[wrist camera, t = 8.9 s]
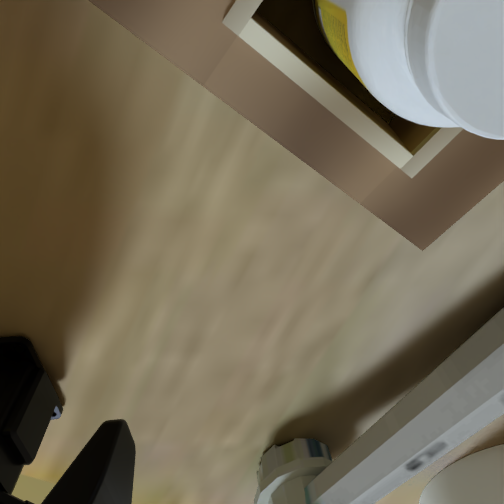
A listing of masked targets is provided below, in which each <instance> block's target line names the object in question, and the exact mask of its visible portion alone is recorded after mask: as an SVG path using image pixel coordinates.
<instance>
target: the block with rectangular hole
mask: <svg viewBox="0 0 504 504" xmlns="http://www.w3.org/2000/svg"><path fill="white" fill-rule="evenodd" d="M89 1H90V2H91V3H93V4H94V5H95V6H97V7H98V8H99V9H101V10H102V11H103V12H105V13H106V14H107V15H109V16H110V17H111V18H113V19H114V20H115V21H117V22H118V23H119V24H121V25H122V26H123V27H125V28H126V29H127V30H129V31H130V32H131V33H133V34H134V35H135V36H137V37H138V38H139V39H141V40H142V41H143V42H145V43H146V44H147V45H149V46H150V47H151V48H153V49H154V50H155V51H157V52H158V53H159V54H161V55H162V56H163V57H165V58H166V59H167V60H169V61H170V62H171V63H173V64H174V65H175V66H177V67H178V68H179V69H181V70H182V71H183V72H185V73H186V74H187V75H189V76H190V77H191V78H193V79H194V80H195V81H197V82H198V83H199V84H201V85H202V86H203V87H205V88H206V89H207V90H209V91H210V92H211V93H213V94H214V95H215V96H217V97H218V98H219V99H221V100H222V101H223V102H225V103H226V104H227V105H229V106H230V107H231V108H233V109H234V110H235V111H237V112H238V113H239V114H241V115H242V116H243V117H245V118H246V119H247V120H249V121H250V122H251V123H253V124H254V125H255V126H257V127H258V128H259V129H261V130H262V131H263V132H265V133H266V134H267V135H269V136H270V137H271V138H273V139H274V140H275V141H277V142H278V143H279V144H281V145H282V146H283V147H285V148H286V149H287V150H289V151H290V152H291V153H293V154H294V155H295V156H297V157H298V158H299V159H301V160H302V161H303V162H305V163H306V164H307V165H309V166H310V167H311V168H313V169H314V170H315V171H317V172H318V173H319V174H321V175H322V176H323V177H325V178H326V179H327V180H329V181H330V182H331V183H333V184H334V185H335V186H337V187H338V188H340V189H341V190H342V191H344V192H345V193H346V194H348V195H349V196H350V197H352V198H353V199H354V200H356V201H357V202H358V203H360V204H361V205H362V206H364V207H365V208H366V209H368V210H369V211H370V212H372V213H373V214H374V215H376V216H377V217H378V218H380V219H381V220H382V221H384V222H385V223H386V224H388V225H389V226H390V227H392V228H393V229H394V230H396V231H397V232H398V233H400V234H401V235H402V236H404V237H405V238H406V239H408V240H409V241H410V242H412V243H413V244H414V245H416V246H417V247H418V248H420V249H421V250H422V251H423V250H424V249H425V248H426V247H428V246H429V245H430V244H431V243H432V242H433V241H435V240H436V239H437V238H438V237H439V236H440V235H441V234H443V233H444V232H445V231H446V230H447V229H448V228H450V227H451V226H452V225H453V224H454V223H455V222H456V221H458V220H459V219H460V218H461V217H462V216H463V215H465V214H466V213H467V212H468V211H469V210H470V209H471V208H473V207H474V206H475V205H476V204H477V203H478V202H480V201H481V200H482V199H483V198H484V197H485V196H487V195H488V194H489V193H490V192H491V191H492V190H493V189H495V188H496V187H497V186H498V185H499V184H500V183H502V182H503V181H504V140H496V139H490V138H485V137H482V136H479V135H476V134H474V133H471V132H469V131H467V130H465V129H463V128H462V127H453V128H446V127H431V126H426V125H421V124H417V123H414V122H411V121H409V120H407V119H404V118H402V117H400V116H398V115H397V116H396V117H395V118H394V119H393V120H392V121H391V122H390V123H389V124H387V123H386V122H385V121H384V120H383V119H382V118H380V117H379V116H378V115H377V114H376V113H375V112H373V111H372V110H371V109H370V108H369V107H368V106H366V105H365V104H364V103H363V102H362V101H361V100H359V99H358V98H357V97H356V96H355V95H354V94H353V93H351V92H350V91H349V90H348V89H347V88H346V87H344V86H343V85H342V84H341V83H340V82H339V81H337V80H336V79H335V78H334V77H333V76H332V75H330V74H329V73H328V72H327V71H326V70H325V69H323V68H322V67H321V66H320V65H319V64H318V63H316V62H315V61H314V60H313V59H312V58H311V57H309V56H308V55H307V54H306V53H305V52H304V51H302V50H301V49H300V48H299V47H298V46H297V45H295V44H294V43H293V42H292V41H291V40H290V39H288V38H287V37H286V36H285V35H284V34H283V33H281V32H280V31H279V30H278V29H277V28H276V27H274V26H273V25H272V24H271V23H270V22H269V21H268V20H266V19H265V18H264V17H263V16H262V15H261V14H259V13H258V12H257V11H256V10H257V8H258V7H259V5H260V4H261V2H262V1H263V0H89Z"/></svg>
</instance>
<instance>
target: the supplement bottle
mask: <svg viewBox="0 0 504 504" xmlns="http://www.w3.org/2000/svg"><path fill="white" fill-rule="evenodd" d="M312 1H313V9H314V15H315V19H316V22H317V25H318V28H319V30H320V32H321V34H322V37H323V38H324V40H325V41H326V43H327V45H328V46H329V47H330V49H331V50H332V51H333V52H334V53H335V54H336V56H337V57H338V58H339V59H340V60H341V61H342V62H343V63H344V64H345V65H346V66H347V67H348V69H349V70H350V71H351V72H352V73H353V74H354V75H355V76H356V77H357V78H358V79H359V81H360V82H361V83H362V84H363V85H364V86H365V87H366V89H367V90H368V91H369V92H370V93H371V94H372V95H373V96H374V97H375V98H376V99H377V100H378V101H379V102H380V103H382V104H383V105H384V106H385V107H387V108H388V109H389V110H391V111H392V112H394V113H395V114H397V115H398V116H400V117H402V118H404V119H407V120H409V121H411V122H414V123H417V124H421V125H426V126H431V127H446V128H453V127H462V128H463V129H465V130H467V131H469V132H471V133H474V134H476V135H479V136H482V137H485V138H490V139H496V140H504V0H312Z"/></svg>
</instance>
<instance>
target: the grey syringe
mask: <svg viewBox="0 0 504 504" xmlns="http://www.w3.org/2000/svg"><path fill="white" fill-rule="evenodd" d="M502 414H504V307H503V308H502V309H501V310H500V311H499V312H497V313H496V314H495V315H494V316H493V317H492V318H491V319H490V320H489V321H488V322H486V323H485V324H484V325H483V326H482V327H481V328H480V329H479V330H478V331H476V332H475V333H474V334H473V335H472V336H471V337H470V338H469V339H468V340H467V341H465V342H464V343H463V344H462V345H461V346H460V347H459V348H458V349H457V350H455V351H454V352H453V353H452V354H451V355H450V356H449V357H448V358H447V359H445V360H444V361H443V362H442V363H441V364H440V365H439V366H438V367H437V368H436V369H434V370H433V371H432V372H431V373H430V374H429V375H428V376H427V377H426V378H424V379H423V380H422V381H421V382H420V383H419V384H418V385H417V386H416V387H415V388H413V389H412V390H411V391H410V392H409V393H408V394H407V395H406V396H405V397H403V398H402V399H401V400H400V401H399V402H398V403H397V404H396V405H395V406H394V407H392V408H391V409H390V410H389V411H388V412H387V413H386V414H385V415H384V416H382V417H381V418H380V419H379V420H378V421H377V422H376V423H375V424H374V425H373V426H371V427H370V428H369V429H368V430H367V431H366V432H365V433H364V434H363V435H361V436H360V437H359V438H358V439H357V440H356V441H355V442H354V443H353V444H351V445H350V446H349V447H348V448H347V449H346V450H345V451H344V452H343V453H342V454H340V455H339V456H338V457H337V458H336V459H335V460H334V461H332V458H331V455H330V452H329V449H328V446H327V445H325V444H323V443H321V442H319V441H317V440H315V439H299V438H294V441H292V442H289V443H287V444H285V445H282V446H280V447H279V446H277V445H275V444H274V445H273V446H272V447H271V448H270V449H269V450H268V451H267V452H266V453H265V454H264V455H263V456H262V457H261V461H262V462H261V465H260V468H259V471H257V479H258V489H257V492H256V495H255V498H254V504H374V503H376V502H377V501H379V500H380V499H381V498H383V497H384V496H386V495H387V494H389V493H390V492H391V491H393V490H394V489H396V488H397V487H399V486H400V485H402V484H403V483H404V482H406V481H407V480H409V479H410V478H412V477H413V476H414V475H416V474H417V473H419V472H420V471H422V470H423V469H425V468H426V467H427V466H429V465H430V464H432V463H433V462H435V461H436V460H437V459H439V458H440V457H442V456H443V455H445V454H446V453H448V452H449V451H450V450H452V449H453V448H455V447H456V446H458V445H459V444H460V443H462V442H463V441H465V440H466V439H468V438H469V437H471V436H472V435H473V434H475V433H476V432H478V431H479V430H481V429H482V428H483V427H485V426H486V425H488V424H489V423H491V422H492V421H494V420H495V419H496V418H498V417H499V416H501V415H502Z"/></svg>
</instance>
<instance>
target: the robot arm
mask: <svg viewBox="0 0 504 504" xmlns="http://www.w3.org/2000/svg"><path fill="white" fill-rule="evenodd" d="M62 411H63V407H62V405H61V403H60V401H59V398H58V396H57V394H56V392H55V390H54V388H53V385H52V383H51V381H50V379H49V377H48V375H47V373H46V371H45V370H44V368H43V366H42V364H41V362H40V360H39V358H38V356H37V354H36V352H35V350H34V348H33V346H32V343H31V342H30V340H28V339H27V338H25V337H22V336H15V337H1V338H0V504H34V503H32V502H29V501H27V500H26V501H23V500H21V499H19V498H17V497H15V496H13V495H11V494H12V492H13V490H14V487H15V485H16V482H17V480H18V478H19V475H20V473H21V471H22V468H23V466H24V465H29V464H31V463H32V462H33V460H34V459H35V456H36V454H37V451H38V449H39V447H40V444H41V442H42V439H43V437H44V434H45V432H46V429H47V427H48V424H49V422H50V420H51V419H58V418H60V416H61V414H62ZM135 454H136V451H135V443H134V440H133V438H132V435H131V432H130V430H129V427H128V425H127V423H126V421H125V420H123V419H117V420H108V421H105V422H104V423H102V424H101V426H100V427H99V428H98V430H97V431H96V432H95V434H94V435H93V436H92V438H91V439H90V440H89V441H88V443H87V444H86V445H85V447H84V448H83V449H82V451H81V452H80V453H79V455H78V456H77V457H76V459H75V460H74V461H73V462H72V464H71V465H70V466H69V468H68V469H67V470H66V472H65V473H64V474H63V476H62V477H61V478H60V480H59V481H58V482H57V484H56V485H55V486H54V487H53V489H52V490H51V492H50V493H49V494H48V495H47V497H46V498H45V499H44V501H43V502H42V503H41V504H131V502H132V490H133V478H134V466H135Z"/></svg>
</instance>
